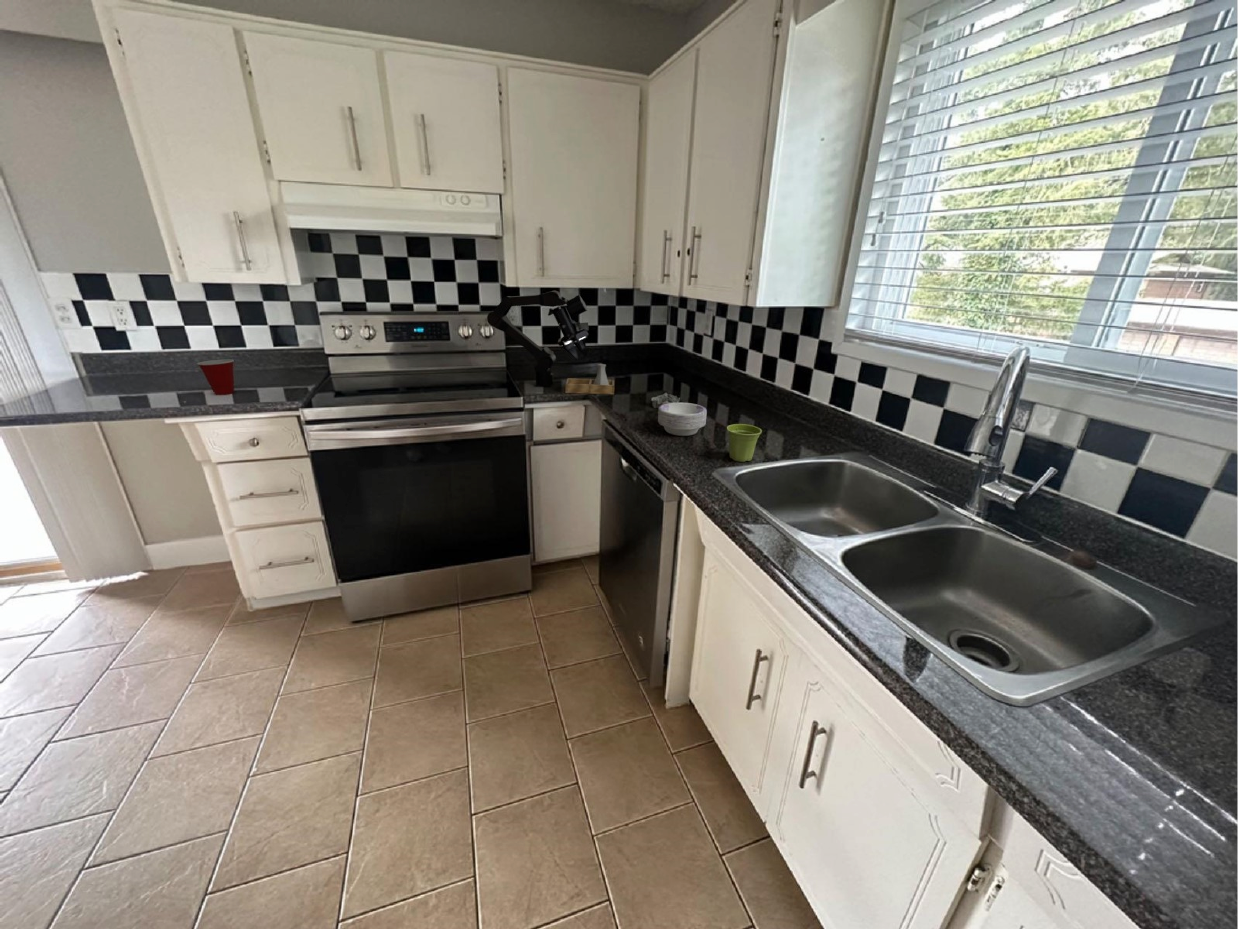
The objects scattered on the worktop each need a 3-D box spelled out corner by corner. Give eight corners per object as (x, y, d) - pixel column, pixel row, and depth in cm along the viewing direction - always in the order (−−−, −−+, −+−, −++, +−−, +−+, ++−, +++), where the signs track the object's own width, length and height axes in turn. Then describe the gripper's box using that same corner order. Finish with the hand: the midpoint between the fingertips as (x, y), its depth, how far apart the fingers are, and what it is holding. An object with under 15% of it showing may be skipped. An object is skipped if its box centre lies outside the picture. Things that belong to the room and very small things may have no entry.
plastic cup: (233, 387, 191) (224, 356, 186) (248, 392, 186) (239, 359, 182) (199, 393, 182) (190, 360, 178) (214, 398, 177) (205, 364, 173)
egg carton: (665, 410, 183) (666, 400, 181) (648, 406, 187) (649, 396, 185) (681, 405, 190) (682, 394, 189) (665, 401, 195) (666, 391, 193)
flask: (613, 389, 206) (614, 365, 202) (599, 391, 202) (600, 367, 198) (603, 385, 211) (603, 362, 207) (589, 388, 207) (589, 363, 203)
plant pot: (720, 461, 138) (724, 431, 135) (726, 450, 147) (729, 422, 143) (755, 466, 135) (759, 436, 132) (759, 455, 144) (763, 426, 140)
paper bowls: (654, 424, 167) (655, 401, 164) (698, 424, 169) (701, 401, 166) (660, 439, 153) (662, 414, 150) (709, 439, 155) (712, 415, 152)
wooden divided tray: (565, 392, 201) (565, 384, 200) (567, 386, 211) (567, 378, 209) (614, 394, 202) (614, 385, 200) (613, 388, 211) (614, 379, 210)
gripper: (590, 309, 196) (607, 346, 201) (571, 317, 213) (587, 351, 217) (567, 320, 192) (584, 358, 197) (550, 328, 209) (566, 362, 213)
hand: (581, 357), depth 206 cm, fingers open, 9 cm apart
